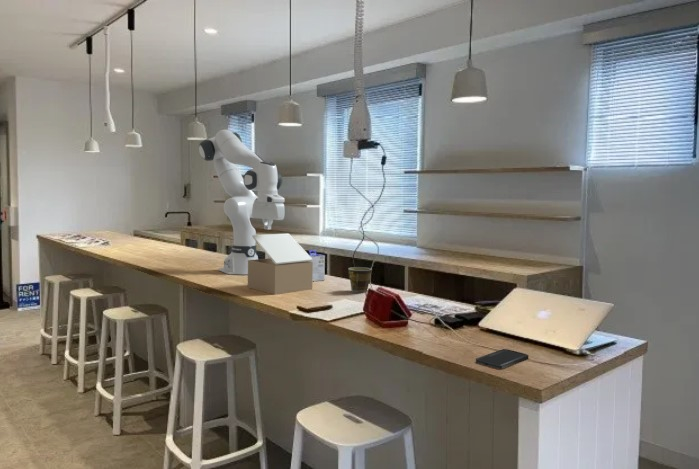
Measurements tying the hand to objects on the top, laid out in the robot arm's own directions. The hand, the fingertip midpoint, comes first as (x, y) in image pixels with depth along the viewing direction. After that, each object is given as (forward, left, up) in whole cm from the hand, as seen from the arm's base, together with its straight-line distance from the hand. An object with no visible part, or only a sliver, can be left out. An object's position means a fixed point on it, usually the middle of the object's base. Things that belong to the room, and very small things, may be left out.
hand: (267, 229), depth 242 cm
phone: (+127, -14, -26) cm, 130 cm away
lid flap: (+11, 0, -8) cm, 13 cm away
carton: (+10, 0, -25) cm, 27 cm away
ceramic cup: (+37, +21, -25) cm, 49 cm away
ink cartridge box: (+3, +25, -25) cm, 36 cm away
